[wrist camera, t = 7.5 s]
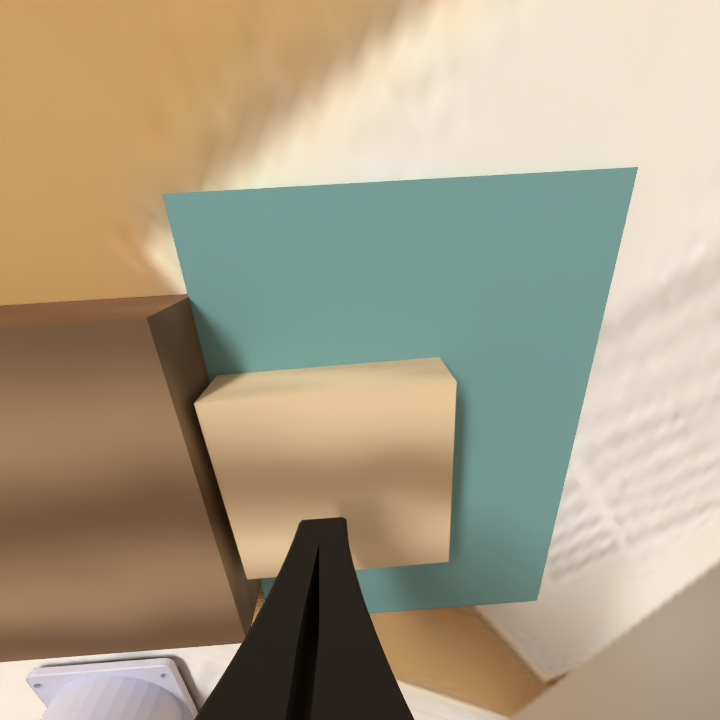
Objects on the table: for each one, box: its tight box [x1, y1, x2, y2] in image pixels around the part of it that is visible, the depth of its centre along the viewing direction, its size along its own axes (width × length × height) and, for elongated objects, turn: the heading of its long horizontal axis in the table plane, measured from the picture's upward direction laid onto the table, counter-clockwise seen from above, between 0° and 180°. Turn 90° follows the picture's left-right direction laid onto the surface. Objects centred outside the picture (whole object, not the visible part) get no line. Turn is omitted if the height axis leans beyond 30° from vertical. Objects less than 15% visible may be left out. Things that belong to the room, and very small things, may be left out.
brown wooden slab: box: [0, 294, 261, 662], centre depth 13 cm, size 14×12×3 cm
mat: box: [163, 167, 638, 613], centre depth 14 cm, size 20×14×1 cm
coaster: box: [194, 357, 457, 580], centre depth 13 cm, size 8×8×2 cm
